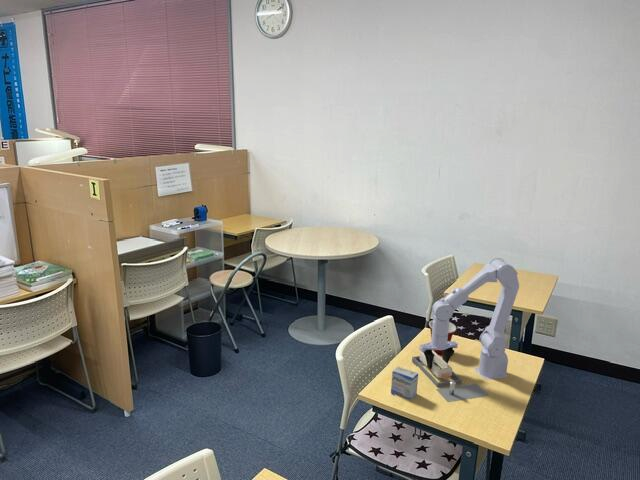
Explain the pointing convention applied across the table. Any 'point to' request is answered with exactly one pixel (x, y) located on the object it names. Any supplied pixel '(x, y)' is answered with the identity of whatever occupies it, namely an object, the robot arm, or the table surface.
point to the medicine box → (404, 383)
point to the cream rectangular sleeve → (445, 370)
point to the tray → (420, 364)
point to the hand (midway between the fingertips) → (436, 366)
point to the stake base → (461, 392)
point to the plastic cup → (450, 333)
